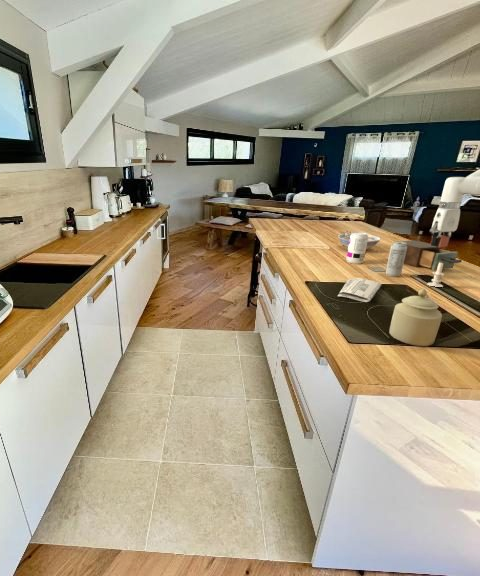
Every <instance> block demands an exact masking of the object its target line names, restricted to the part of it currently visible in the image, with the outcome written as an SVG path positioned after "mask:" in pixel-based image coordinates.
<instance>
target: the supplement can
mask: <svg viewBox="0 0 480 576" xmlns="http://www.w3.org/2000/svg"><path fill="white" fill-rule="evenodd" d="M350 234H351V235H350V240H349V246H348V247H347V252H346V259H345V261H346V262H347V263H349V264H353V265H361V264H363V263H364V262H365V256H366V251H367V249H366V246H367V241H368V235H369V234H368V233H367V232H361V231H354V232H351V233H350Z"/></svg>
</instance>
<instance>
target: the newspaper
mask: <svg viewBox="0 0 480 576" xmlns="http://www.w3.org/2000/svg"><path fill="white" fill-rule="evenodd" d="M381 287H382V283H380V282H377V281H374V280H371V279H367V278H362V277H354V278H348V280H347V281H346V283H344V285H343V287H342V288H341V289H340V291H339V293H338V295H337V297H343V298H347V299H348V298H349V299H351V300H355V301H359V302H363V303H370V302H371V301H372V300H373V298H374V297H375V295H376V294H377V292H378V291H379V290H380V288H381Z"/></svg>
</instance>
